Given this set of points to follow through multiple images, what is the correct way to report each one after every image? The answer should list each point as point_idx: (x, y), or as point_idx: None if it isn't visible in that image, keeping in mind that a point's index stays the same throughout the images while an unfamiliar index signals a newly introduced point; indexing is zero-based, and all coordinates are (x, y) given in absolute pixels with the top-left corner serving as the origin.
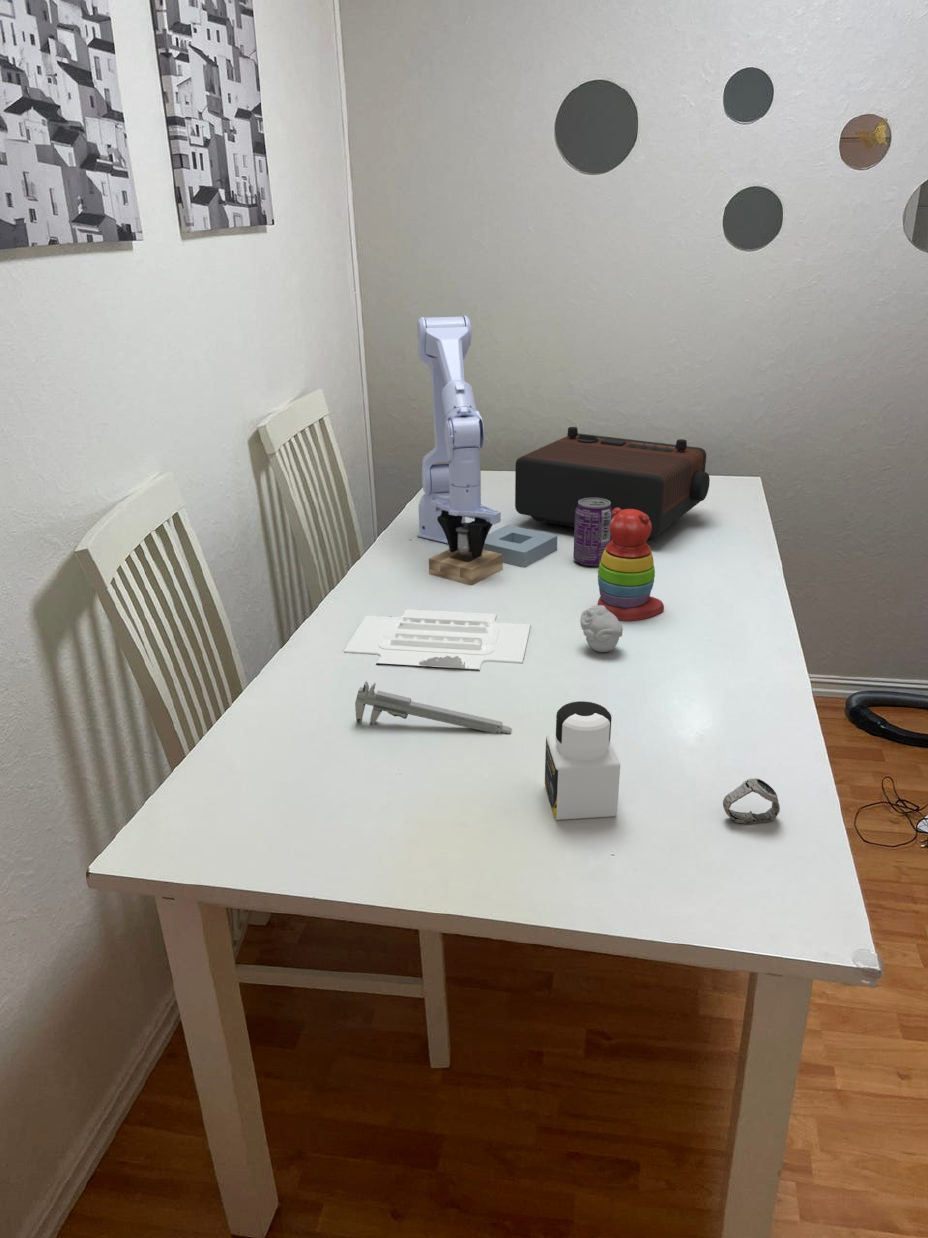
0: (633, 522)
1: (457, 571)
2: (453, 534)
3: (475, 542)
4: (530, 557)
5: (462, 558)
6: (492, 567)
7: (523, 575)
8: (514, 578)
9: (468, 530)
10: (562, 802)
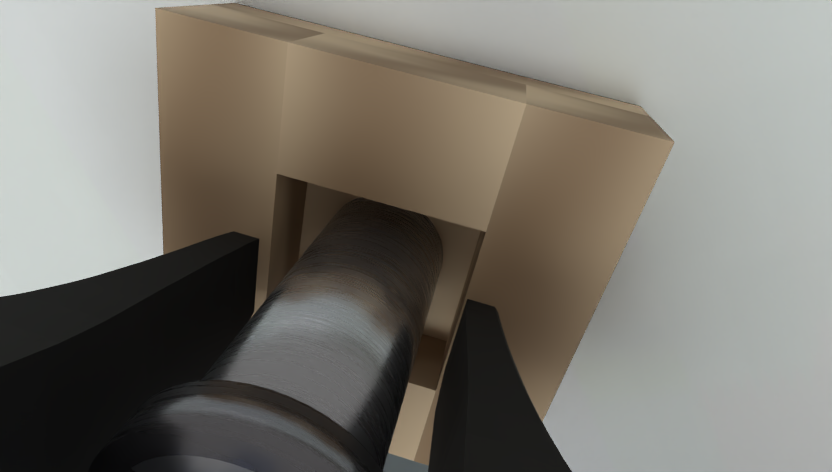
0: None
1: (333, 42)
2: (449, 449)
3: (91, 278)
4: None
5: (356, 230)
6: None
7: (84, 266)
8: (93, 213)
9: (124, 426)
10: None
